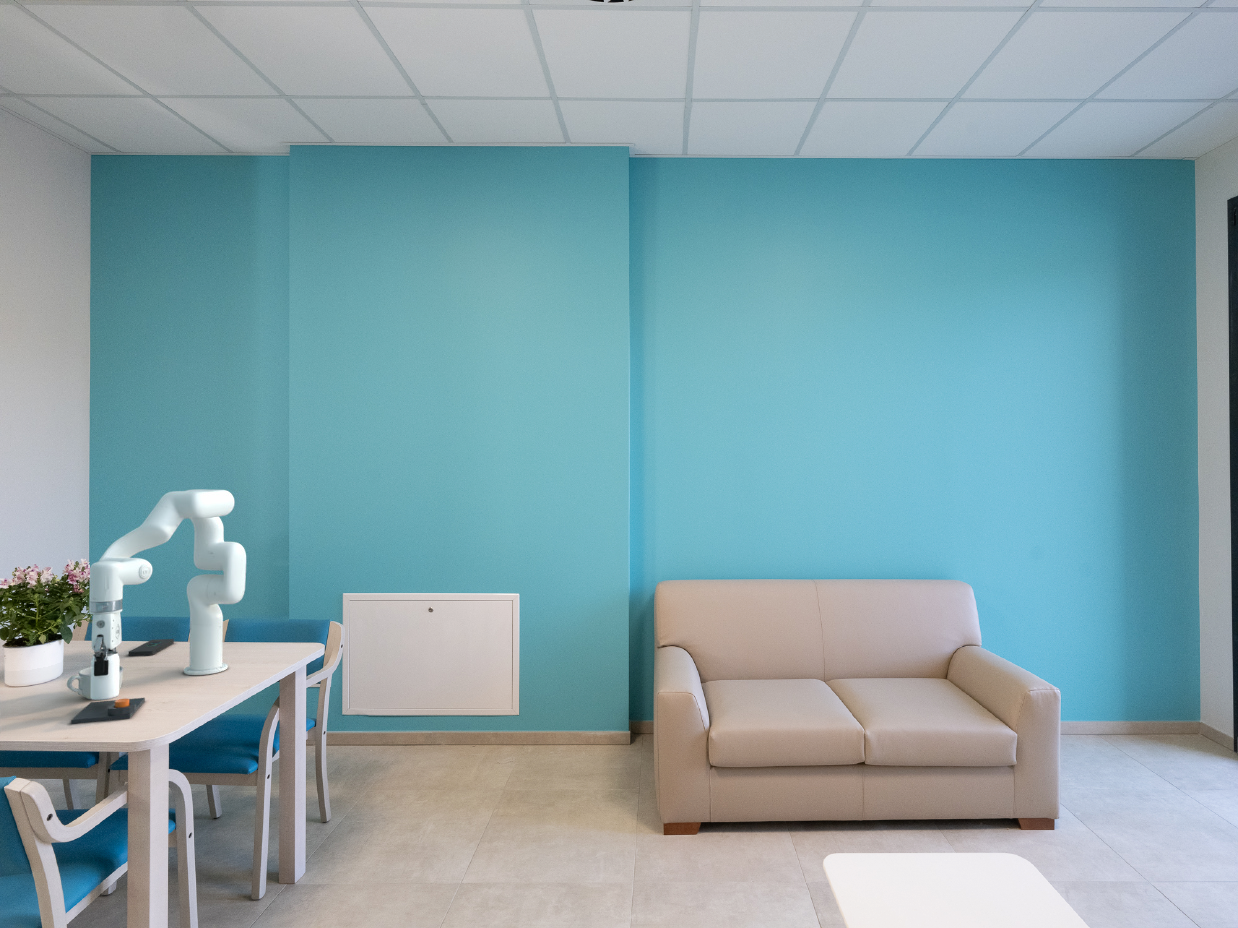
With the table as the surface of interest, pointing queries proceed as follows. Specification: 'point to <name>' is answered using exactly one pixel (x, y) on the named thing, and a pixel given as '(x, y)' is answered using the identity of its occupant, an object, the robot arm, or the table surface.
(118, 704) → the button
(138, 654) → the smart home device
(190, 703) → the table surface
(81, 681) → the teacup
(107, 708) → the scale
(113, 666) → the can
